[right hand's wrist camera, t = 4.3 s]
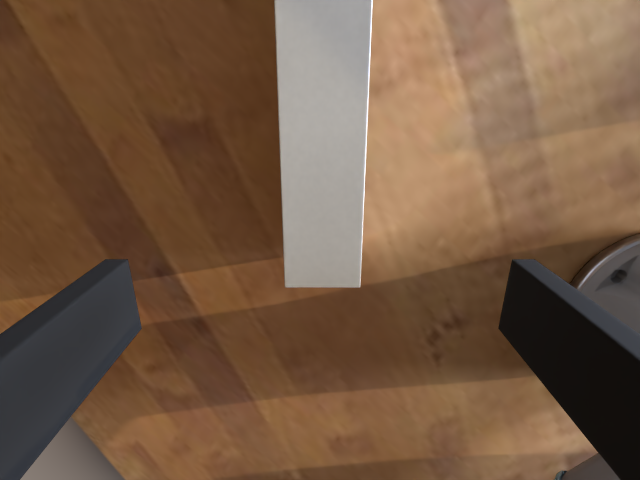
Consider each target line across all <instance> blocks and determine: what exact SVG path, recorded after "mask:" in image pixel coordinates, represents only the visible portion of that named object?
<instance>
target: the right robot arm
mask: <svg viewBox="0 0 640 480" xmlns="http://www.w3.org/2000/svg"><path fill="white" fill-rule="evenodd" d="M141 329H142V328H141V323H140V318H139V313H138V308H137V303H136V298H135V293H134V288H133V283H132V278H131V273H130V268H129V263H128V259H105V260H104V261H103V262H101V263H100V264H98V265H97V266H96V267H94V268H93V269H91V270H90V271H88V272H87V273H86V274H84V275H83V276H81V277H80V278H79V279H77V280H76V281H74V282H73V283H72V284H70V285H69V286H67V287H66V288H65V289H63V290H62V291H60V292H59V293H58V294H56V295H55V296H53V297H52V298H51V299H49V300H48V301H46V302H45V303H43V304H42V305H41V306H39V307H38V308H36V309H35V310H34V311H32V312H31V313H29V314H28V315H27V316H25V317H24V318H22V319H21V320H20V321H18V322H17V323H15V324H14V325H13V326H11V327H10V328H8V329H7V330H6V331H4V332H3V333H1V334H0V480H20V479H21V478H22V476H23V475H24V474H25V473H26V471H27V470H28V469H29V468H30V466H31V465H32V464H33V463H34V461H35V460H36V459H37V458H38V456H39V455H40V454H41V453H42V451H43V450H44V449H45V448H46V447H47V445H48V444H49V443H50V442H51V440H52V439H53V438H54V437H55V435H56V434H57V433H58V432H59V430H60V429H61V428H62V427H63V425H64V424H65V423H66V422H67V420H68V419H69V418H70V417H71V415H72V414H73V413H74V412H75V411H76V409H77V408H78V407H79V406H80V404H81V403H82V402H83V401H84V399H85V398H86V397H87V396H88V394H89V393H90V392H91V391H92V389H93V388H94V387H95V386H96V384H97V383H98V382H99V381H100V379H101V378H102V377H103V376H104V374H105V373H106V372H107V371H108V370H109V368H110V367H111V366H112V365H113V363H114V362H115V361H116V360H117V358H118V357H119V356H120V355H121V353H122V352H123V351H124V350H125V348H126V347H127V346H128V345H129V343H130V342H131V341H132V340H133V338H134V337H135V336H136V335H137V333H138V332H139V331H140V330H141ZM498 329H499V330H500V331H501V332H502V333H503V335H504V336H505V337H506V338H507V340H508V341H509V342H510V343H511V345H512V346H513V347H514V348H515V350H516V351H517V352H518V353H519V355H520V356H521V357H522V358H523V360H524V361H525V362H526V363H527V365H528V366H529V367H530V368H531V370H532V371H533V372H534V373H535V374H536V376H537V377H538V378H539V379H540V381H541V382H542V383H543V384H544V386H545V387H546V388H547V389H548V391H549V392H550V393H551V394H552V396H553V397H554V398H555V399H556V401H557V402H558V403H559V404H560V406H561V407H562V408H563V409H564V411H565V412H566V413H567V414H568V415H569V417H570V418H571V419H572V420H573V422H574V423H575V424H576V425H577V427H578V428H579V429H580V430H581V432H582V433H583V434H584V435H585V437H586V438H587V439H588V440H589V442H590V443H591V444H592V445H593V447H594V448H595V449H596V450H597V451H598V454H596V455H594V456H593V457H591V458H589V459H588V460H586V461H584V462H583V463H581V464H579V465H578V466H576V467H574V468H573V469H571V470H569V471H560V472H558V474H557V475H556V477H555V479H554V480H640V234H637V235H634V236H630V237H628V238H625V239H623V240H621V241H619V242H616V243H614V244H613V245H611V246H609V247H607V248H606V249H604V250H603V251H601V252H600V253H598V254H597V255H596V256H595V257H593V258H592V259H591V260H590V261H589V262H588V263H587V264H586V265H585V266H584V267H583V268H582V269H581V270H580V271H579V273H578V274H577V275H576V276H575V278H574V279H573V281H572V282H571V284H568V283H567V282H566V281H564V280H563V279H561V278H560V277H559V276H557V275H556V274H554V273H553V272H552V271H550V270H549V269H547V268H546V267H544V266H543V265H542V264H540V263H539V262H537V261H536V260H535V259H512V263H511V268H510V273H509V278H508V283H507V288H506V293H505V298H504V303H503V308H502V313H501V318H500V323H499V328H498Z"/></svg>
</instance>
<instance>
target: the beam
mask: <svg viewBox="0 0 640 480" xmlns="http://www.w3.org/2000/svg"><path fill="white" fill-rule="evenodd" d="M274 9H275V36H276V63H277V90H278V117H279V144H280V171H281V198H282V225H283V252H284V279H285V287H331V288H360V282H361V259H362V235H363V212H364V188H365V165H366V141H367V117H368V94H369V70H370V47H371V23H372V0H274Z"/></svg>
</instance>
